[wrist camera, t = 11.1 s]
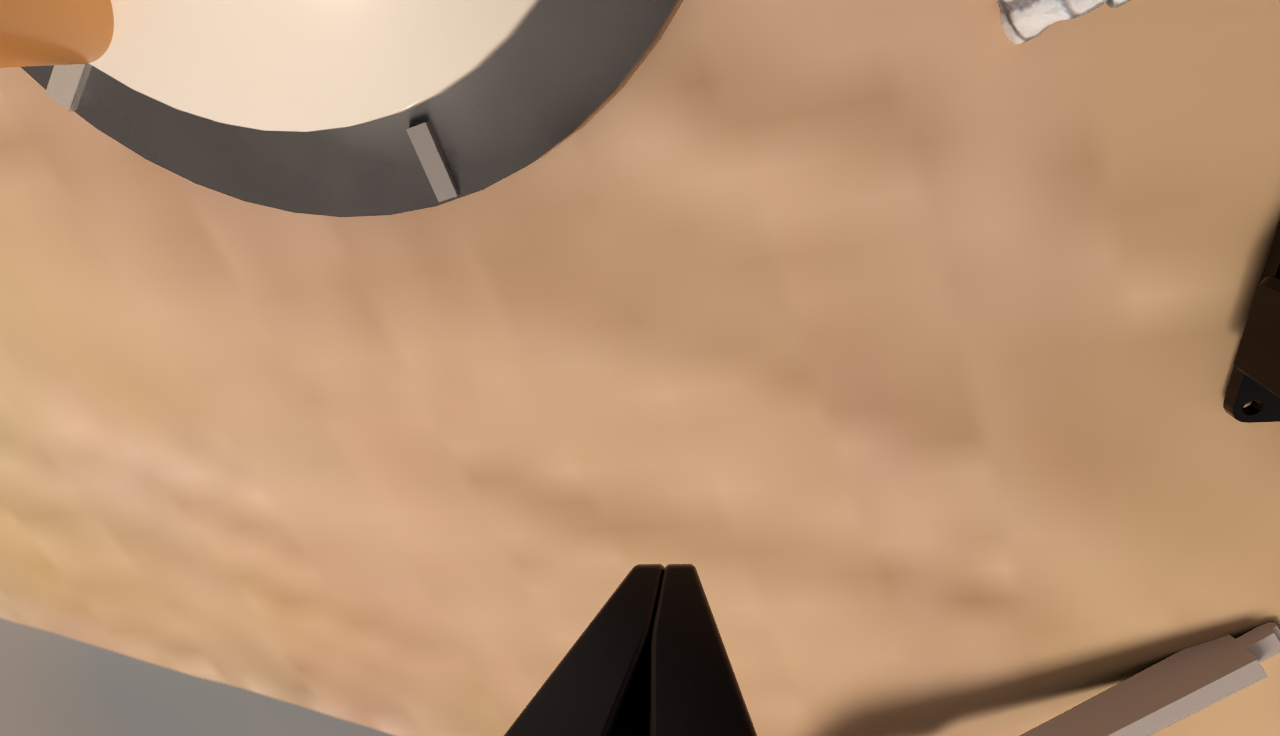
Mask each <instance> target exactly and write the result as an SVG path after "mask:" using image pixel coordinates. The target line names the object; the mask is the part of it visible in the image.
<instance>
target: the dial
mask: <svg viewBox="0 0 1280 736" xmlns="http://www.w3.org/2000/svg"><path fill="white" fill-rule="evenodd" d="M542 1H543V0H0V68H4V67H27V66H50V65H74V64H86V63H89V64H91V65H92V66H94V67H96V68H98V69H99V70H101V71H103V72H104V73H106V74H108V75H109V76H111V77H113V78H115V79H116V80H118V81H120V82H121V83H123V84H125V85H126V86H128V87H130V88H132V89H133V90H136V91H138V92H140V93H142V94H145V95H147V96H149V97H151V98H153V99H156V100H158V101H160V102H162V103H165V104H167V105H169V106H171V107H173V108H176V109H178V110H181V111H185V112H188V113H191V114H194V115H197V116H200V117H204V118H207V119H210V120H213V121H216V122H220V123H224V124H230V125H236V126H241V127H247V128H253V129H259V130H265V131H298V132H309V131H317V130H325V129H333V128H341V127H349V126H353V125H357V124H362V123H366V122H370V121H374V120H377V119H380V118H384V117H387V116H391V115H394V114H398V113H401V112H404V111H408V110H410V109H412V108H414V107H416V106H418V105H420V104H422V103H425V102H427V101H429V100H431V99H433V98H435V97H437V96H439V95H441V94H443V93H445V92H447V91H448V90H450V89H451V88H453V87H454V86H456V85H457V84H458V83H460V82H461V81H463V80H464V79H466V78H467V77H469V76H470V75H471V74H473V73H474V72H476V71H477V70H479V69H480V68H481V67H483V66H484V65H485V64H486V63H487V62H488V61H489V60H490V59H491V58H492V57H493V56H494V55H495V54H496V53H497V52H498V51H499V50H500V49H502V48H503V47H504V46H505V45H506V44H507V43H508V42H509V41H510V40H511V39H512V38H513V37H514V36H515V35H516V34H517V33H518V31H519V30H520V29H521V28H522V26H523V25H524V24H525V22H526V21H527V20H528V19H529V17H530V16H531V15H532V14H533V12H534V11H535V10H536V9H537V7H538V6H539V5H540V4H541V2H542Z"/></svg>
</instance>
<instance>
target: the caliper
mask: <svg viewBox="0 0 1280 736" xmlns="http://www.w3.org/2000/svg"><path fill="white" fill-rule="evenodd" d="M1279 652H1280V629H1279V628H1278V626H1277V625H1276V623H1275V622H1268V623H1265V624H1263V625H1260V626H1258V627H1256V628H1254V629H1253V630H1251V631H1249V632H1247V633H1245V634H1244V635H1242V636H1240V637H1238V638H1236V639H1235V638H1233V637H1232V636H1231V635H1226V636H1223V637H1220V638H1217V639H1214V640H1211V641H1208V642H1205V643H1202V644H1199V645H1195V646H1192V647H1189V648H1186V649H1183V650H1181V651H1179V652H1177V653H1175V654H1173V655H1171V656H1169V657H1168V658H1166V659H1164V660H1162V661H1160V662H1158V663H1156V664H1154V665H1152V666H1151V667H1149V668H1147V669H1145V670H1143V671H1141V672H1139V673H1137V674H1136V675H1134V676H1132V677H1130V678H1128V679H1126V680H1124V681H1122V682H1120V683H1119V684H1117V685H1115V686H1113V687H1111V688H1109V689H1107V690H1105V691H1104V692H1102V693H1100V694H1098V695H1096V696H1094V697H1092V698H1090V699H1088V700H1087V701H1085V702H1083V703H1081V704H1079V705H1077V706H1075V707H1073V708H1072V709H1070V710H1068V711H1066V712H1064V713H1062V714H1060V715H1058V716H1056V717H1055V718H1053V719H1051V720H1049V721H1047V722H1045V723H1043V724H1041V725H1039V726H1037V727H1035V728H1033V729H1031V730H1029V731H1028V732H1026V733H1024V734H1022V735H1020V736H1150V735H1152V734H1154V733H1156V732H1158V731H1160V730H1162V729H1164V728H1166V727H1168V726H1170V725H1172V724H1174V723H1176V722H1178V721H1180V720H1182V719H1183V718H1185V717H1187V716H1189V715H1191V714H1193V713H1195V712H1197V711H1199V710H1201V709H1203V708H1205V707H1207V706H1209V705H1211V704H1213V703H1215V702H1217V701H1219V700H1221V699H1223V698H1225V697H1227V696H1229V695H1231V694H1233V693H1235V692H1237V691H1239V690H1241V689H1243V688H1245V687H1247V686H1249V685H1251V684H1253V683H1255V682H1257V681H1259V680H1261V679H1263V678H1265V677H1267V674H1266V672H1265V671H1264V669H1263V668H1262V666H1261V665H1260V663H1259V662H1262V661H1264V660H1266V659H1268V658H1270V657H1272V656H1274V655H1275V654H1277V653H1279Z"/></svg>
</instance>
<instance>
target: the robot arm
mask: <svg viewBox="0 0 1280 736" xmlns="http://www.w3.org/2000/svg"><path fill="white" fill-rule="evenodd" d="M1234 364H1235V367H1234V370H1233V373H1232V376H1231V380H1230V383H1229V386H1228V389H1227V392H1226V396H1225V399H1224V404H1223V407H1224V409H1225V411H1226V412H1227V413H1229V414H1230V415H1231V416H1232V417H1234V418H1235V419H1237V420H1239V421H1240V422H1274V421H1280V222H1279V225H1278V228H1277V232H1276V235H1275V238H1274V241H1273V245H1272V248H1271V251H1270V254H1269V257H1268V261H1267V264H1266V267H1265V270H1264V273H1263V277H1262V280H1261V283H1260V284H1259V286H1258V288H1257V291H1256V294H1255V297H1254V301H1253V304H1252V307H1251V310H1250V314H1249V317H1248V320H1247V323H1246V327H1245V330H1244V333H1243V336H1242V339H1241V343H1240V346H1239V349H1238V352H1237V356H1236V359H1235V362H1234ZM1250 401H1253V402H1252V403H1251V404H1250V405H1249V406H1247V407H1245V408H1243V407H1244V405H1245V404H1246V403H1248V402H1250ZM504 736H757V734H756V732H755V729H754V726H753V723H752V721H751V718H750V715H749V713H748V710H747V707H746V704H745V702H744V699H743V696H742V693H741V691H740V688H739V685H738V683H737V680H736V677H735V674H734V672H733V669H732V666H731V663H730V661H729V658H728V655H727V652H726V650H725V647H724V644H723V642H722V639H721V636H720V633H719V631H718V628H717V625H716V622H715V620H714V617H713V614H712V612H711V609H710V606H709V603H708V601H707V598H706V595H705V592H704V590H703V587H702V584H701V582H700V579H699V576H698V573H697V571H696V568H695V567H694V566H693V565H692V564H669V565H667V566H666V567H665V568H664V566H662V565H660V564H639V565H636V566H635V567H633V569H632V570H631V571H630V572H629V574H628V575H627V576H626V578H625V579H624V580H623V582H622V583H621V584H620V585H619V587H618V588H617V589H616V591H615V592H614V593H613V595H612V596H611V597H610V598H609V600H608V601H607V602H606V604H605V605H604V606H603V608H602V609H601V610H600V611H599V613H598V614H597V615H596V617H595V618H594V619H593V621H592V622H591V623H590V624H589V626H588V627H587V628H586V630H585V631H584V632H583V634H582V635H581V636H580V637H579V639H578V640H577V641H576V643H575V644H574V645H573V647H572V648H571V649H570V650H569V652H568V653H567V654H566V656H565V657H564V658H563V660H562V661H561V662H560V664H559V665H558V666H557V667H556V669H555V670H554V671H553V673H552V674H551V675H550V677H549V678H548V679H547V680H546V682H545V683H544V684H543V686H542V687H541V688H540V690H539V691H538V692H537V693H536V695H535V696H534V697H533V699H532V700H531V701H530V703H529V704H528V705H527V706H526V708H525V709H524V710H523V712H522V713H521V714H520V716H519V717H518V718H517V719H516V721H515V722H514V723H513V725H512V726H511V727H510V729H509V730H508V731H507V732H506V734H505V735H504Z"/></svg>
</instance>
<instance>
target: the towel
mask: <svg viewBox="0 0 1280 736" xmlns="http://www.w3.org/2000/svg"><path fill="white" fill-rule="evenodd" d="M996 1H997V2H998V4H999V7H1000V9H1001V11H1000V20H1001V24H1002V26H1003V29H1004V32H1005V36H1006V37H1007V38H1008V39H1009V41H1012V42H1014V43H1015V44H1016V45H1017V44H1021V43H1024V42H1027V41H1028V40H1030V39H1032V38H1034V37H1036V36H1038V35H1040V34H1041V33H1042V32H1043V31H1044V30H1045V29H1046V28H1047V27H1048V26H1050V25H1051V24H1052V23H1054V22H1056V21H1061V20H1068V19H1073V18H1076V17H1079V16H1082V15H1085V14H1087V13H1089V12H1090V11H1092V10H1094V9H1096V8H1098V7H1099V6H1101V5H1102V4H1104V3H1105V4H1107V5H1108V6H1109V7H1119V6H1121V5H1122V4H1124V3H1126V2H1128V1H1130V0H996Z"/></svg>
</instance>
